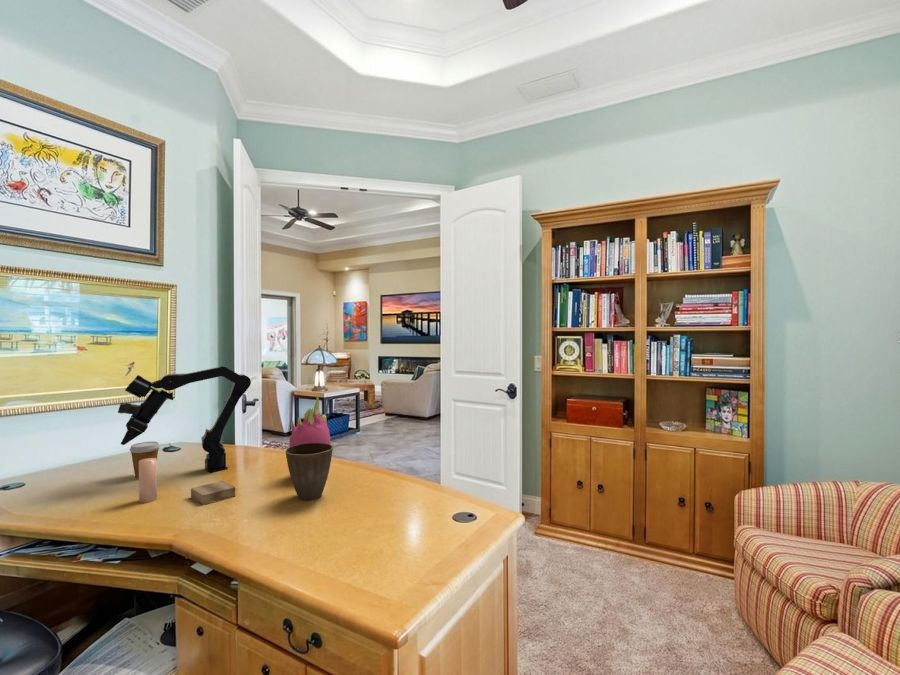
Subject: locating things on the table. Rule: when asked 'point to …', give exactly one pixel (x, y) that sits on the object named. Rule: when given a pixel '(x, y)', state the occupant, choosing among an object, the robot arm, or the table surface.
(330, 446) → the plant pot
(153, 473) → the pillar
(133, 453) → the disposable coffee cup
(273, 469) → the table surface
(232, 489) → the base
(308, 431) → the pink dragon fruit
